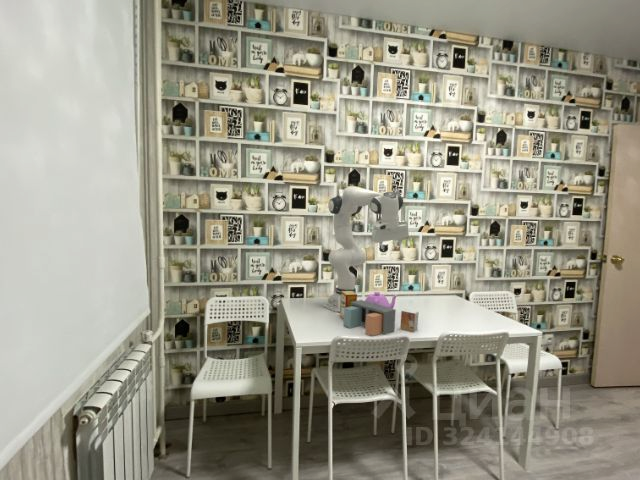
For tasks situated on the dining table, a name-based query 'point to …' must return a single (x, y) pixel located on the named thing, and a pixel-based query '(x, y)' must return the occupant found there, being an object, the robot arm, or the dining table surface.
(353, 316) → the teal rectangular block
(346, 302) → the baking soda box
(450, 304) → the dining table surface
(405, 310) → the small box
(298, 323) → the dining table surface
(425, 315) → the dining table surface
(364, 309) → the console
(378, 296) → the teapot
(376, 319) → the orange rounded block
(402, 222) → the robot arm
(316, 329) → the dining table surface
